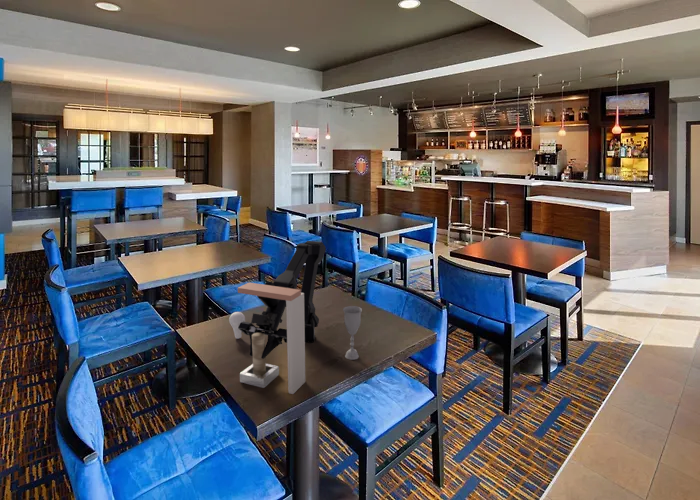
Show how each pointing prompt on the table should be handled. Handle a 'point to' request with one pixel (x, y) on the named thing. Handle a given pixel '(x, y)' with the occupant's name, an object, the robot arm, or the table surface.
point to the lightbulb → (236, 323)
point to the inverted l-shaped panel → (288, 327)
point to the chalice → (352, 327)
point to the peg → (258, 354)
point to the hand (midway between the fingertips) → (256, 357)
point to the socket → (258, 380)
